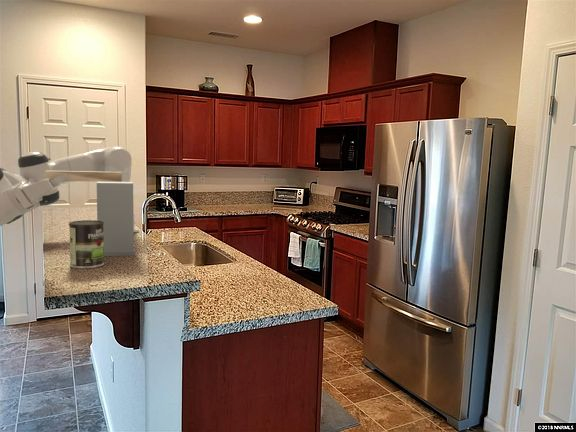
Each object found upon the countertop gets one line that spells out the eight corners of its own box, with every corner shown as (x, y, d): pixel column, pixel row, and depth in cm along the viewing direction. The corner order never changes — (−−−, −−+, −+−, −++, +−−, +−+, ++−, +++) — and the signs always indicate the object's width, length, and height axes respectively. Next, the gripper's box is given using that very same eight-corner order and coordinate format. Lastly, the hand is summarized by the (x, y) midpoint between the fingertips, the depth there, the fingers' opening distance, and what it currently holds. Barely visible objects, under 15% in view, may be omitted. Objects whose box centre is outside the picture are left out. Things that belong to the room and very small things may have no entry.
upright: (98, 251, 166) (96, 181, 162) (134, 249, 170) (134, 181, 167) (96, 256, 158) (94, 183, 154) (135, 255, 162) (134, 183, 158)
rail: (47, 180, 140) (46, 170, 140) (121, 181, 147) (121, 171, 147) (45, 180, 137) (44, 171, 136) (121, 181, 144) (121, 172, 144)
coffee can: (111, 263, 149) (110, 221, 147) (87, 270, 140) (86, 225, 138) (87, 259, 153) (86, 219, 151) (62, 266, 143) (61, 223, 141)
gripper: (38, 201, 148) (77, 181, 151) (25, 209, 129) (70, 185, 132) (26, 184, 146) (66, 164, 149) (11, 190, 127) (57, 167, 130)
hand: (68, 174), depth 140 cm, fingers closed on rail, 3 cm apart
